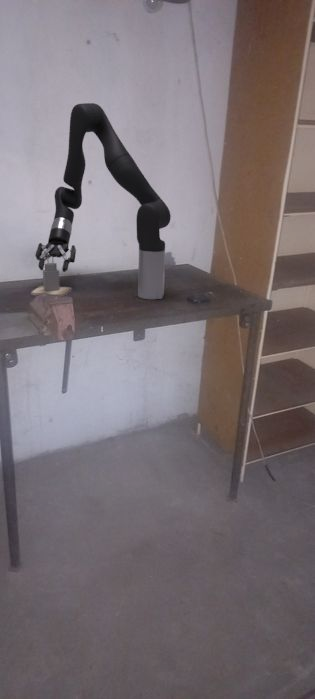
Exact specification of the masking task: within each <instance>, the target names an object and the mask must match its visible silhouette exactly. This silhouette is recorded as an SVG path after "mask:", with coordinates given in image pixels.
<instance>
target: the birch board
mask: <svg viewBox="0 0 315 699" xmlns="http://www.w3.org/2000/svg"><path fill="white" fill-rule="evenodd" d="M71 291H72V287H71V286H70V287H69V286H60V290H56V291H44V285H39V286H37V288H35V289H33V290H32V291H31V292H30V295H31V296H36V297H37V295H39V294H48V295H66V296H67V295H68V294H69V293H70V292H71Z"/></svg>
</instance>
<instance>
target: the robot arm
mask: <svg viewBox="0 0 315 699" xmlns="http://www.w3.org/2000/svg"><path fill="white" fill-rule="evenodd" d="M70 112H71V113H70V117H69V118H70V119H69V133H68V135H69V136H68V151H67V152H68V153H67V159H66V164H65V169H64V173H63V179H62V180H63V183H65V185H68V187H71V188H68V187H65V186H59V187H58V188H56V190H55V192H54V203H55V212H54V217H53V221H52V224H51V226H50V231H49V235H48V236H49V237H48V242H47V244H43V243H41V242H39V243H38V246H37V249H36V252H35V254H34V255H35V258H36V260H37V261H39V262H38V266H37V267H38V268H39V270H40V271H43V270H44V268H45V264H46V263H45V262H46V261H48V260H49V259H50V258H52V257H53V258H62V259H63V262H62V263H63V264H62V267H61V268H62V269H61V270H62V272H64V273H66V271H68V268H69V265H70V263H72V264H73V263H74V262H75V261H76V252H77V248H76V246H75V245H71V246H69V244H70V239H71V235H72V228H73V223H74V217H75V213H74V211H73V210H77V209H80V207H81V206H82V203H83V202H82V201H83V195H82V184H83V179H84V175H85V171H86V158H85V154H84V153H85V152H84V148H83V145H84V144H83V142H84V138H85V136H86V133H93V134H95V136H96V137H97V138H98V140H99V141H100V143H101V144H102V147H103V156H104V157H103V158H104V164H105V166H106V169H107V170H108V172H109V173H110V174H111V176H112V178H113V179H114V180H115V182H116V183H117V184H118V185H119V186H120V187H121V188H123V189H124V190H125V191H126V192H128V193H129V194H130V195H131V196H133V198H135V199H136V201H137V202H138V203H139V204H140V206H139V208H138V210H137V214H136V240H137V243H138V279H137V280H138V281H137V283H138V284H137V297H138V298H140V299H144V300H162V299H163V298H164V295H165V280H166V279H165V274H166V270H165V257H166V256H165V255H166V243H165V241H164V240H162V239H161V236H160V230H161V229H163V228H164V229H165V228H166V227H168V225H170V223H171V217H172V216H171V215H172V214H171V211H170V209H169V207H168V206H167V204H166V203H165V202H164V200H163V199H162V198H161V196H159V194H157V192H156V190H154V188H153V187H152V186H151V184H150V183H149V181H148V180H147V179H146V177H145V175H144V174H143V172H142V171H141V169H140V168H139V166H138V164H137V163H136V161H135V159H134V158H133V157H132V155H131V154H130V152H129V151H128V150H127V148H126V147H125V145H124V144H123V142H122V140H121V139H120V138H119V136H118V134H117V133H116V131H115V129H114V128H113V125H112V124H111V121H110V120H109V118H108V116H107V114H106V112H105V111H104V109H103V107H101V106H100V105H99V104H97V103H93V102H92V103H90V102H88V103H78V104H75V105H74V106H73V108H72V110H71V111H70ZM67 252H69V253H70V255H69V257H68V255H67Z"/></svg>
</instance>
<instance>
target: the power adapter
mask: <svg viewBox="0 0 315 699" xmlns="http://www.w3.org/2000/svg"><path fill="white" fill-rule="evenodd" d="M51 258H52V262H49V261H47V263H44V269H43V270H42V278H43V279H42V280H43V282H42V284H43V286H44V291H56V290H60V287H61V286H60V270H59V269H58V266H57V265H58V264H57V263H55V262H54V257H52V256H51Z"/></svg>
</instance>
